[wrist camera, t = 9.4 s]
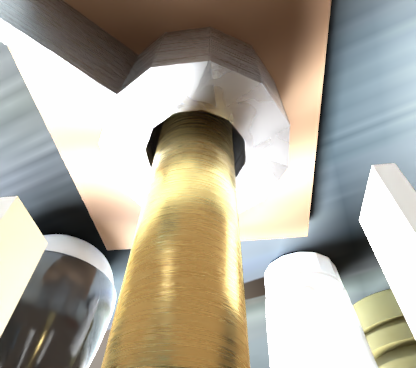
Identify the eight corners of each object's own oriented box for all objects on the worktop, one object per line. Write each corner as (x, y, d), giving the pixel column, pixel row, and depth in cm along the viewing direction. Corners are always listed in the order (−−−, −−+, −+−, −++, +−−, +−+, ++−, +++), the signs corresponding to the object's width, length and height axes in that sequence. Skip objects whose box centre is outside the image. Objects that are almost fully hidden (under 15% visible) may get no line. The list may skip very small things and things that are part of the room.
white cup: (359, 262, 31) (408, 380, 23) (306, 303, 35) (332, 413, 27) (289, 235, 28) (318, 355, 21) (242, 282, 33) (251, 395, 25)
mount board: (-13, -35, 16) (-30, -31, 15) (330, -87, 15) (340, -87, 14) (111, 236, 29) (107, 250, 28) (303, 222, 27) (307, 236, 26)
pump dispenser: (143, 279, 33) (103, 483, 21) (49, 292, 34) (-36, 488, 23) (98, 206, 27) (6, 438, 15) (-14, 225, 28) (-177, 448, 16)
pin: (162, 81, 18) (51, 428, 6) (227, 74, 18) (253, 424, 6) (174, 137, 21) (112, 473, 8) (232, 131, 20) (258, 472, 8)
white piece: (14, -25, 15) (-54, -5, 11) (274, -65, 14) (297, -57, 10) (123, 235, 26) (108, 290, 23) (273, 224, 25) (284, 279, 21)
